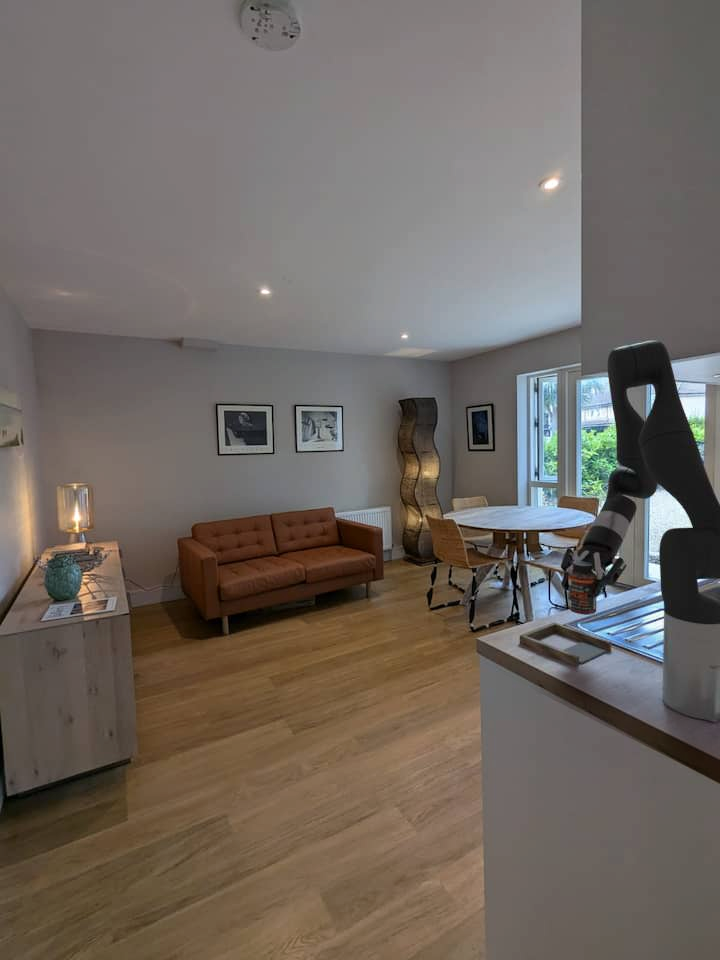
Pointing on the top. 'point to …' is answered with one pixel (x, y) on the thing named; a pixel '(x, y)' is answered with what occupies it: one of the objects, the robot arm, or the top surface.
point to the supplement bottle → (581, 588)
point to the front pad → (585, 651)
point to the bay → (567, 657)
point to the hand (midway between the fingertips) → (577, 591)
